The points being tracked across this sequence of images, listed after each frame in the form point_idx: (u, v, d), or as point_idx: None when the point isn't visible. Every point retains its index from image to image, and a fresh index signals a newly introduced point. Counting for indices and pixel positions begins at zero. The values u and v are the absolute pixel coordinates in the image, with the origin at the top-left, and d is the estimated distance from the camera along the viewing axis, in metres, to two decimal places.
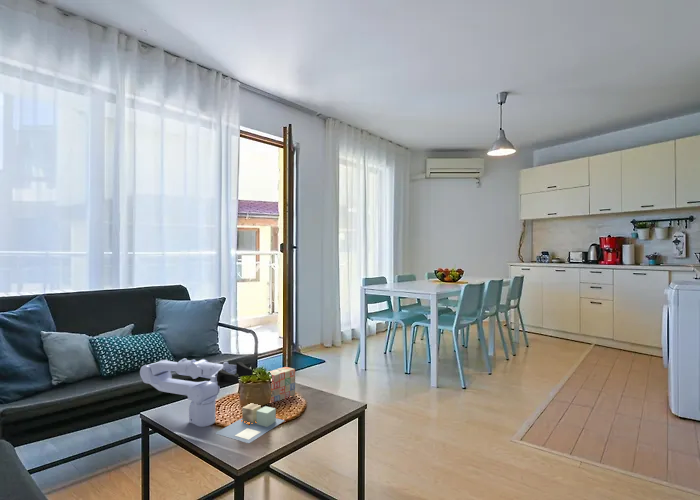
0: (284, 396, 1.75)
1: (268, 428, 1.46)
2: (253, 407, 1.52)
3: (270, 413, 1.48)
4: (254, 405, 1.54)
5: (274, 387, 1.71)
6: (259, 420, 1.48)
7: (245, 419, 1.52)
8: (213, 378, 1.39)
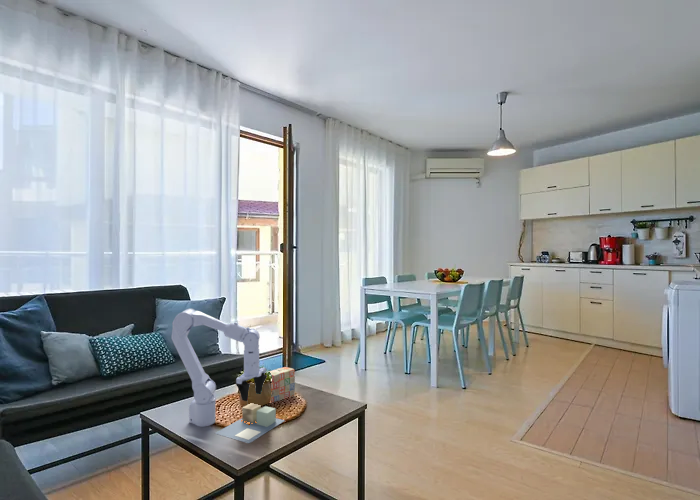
0: (284, 396, 1.75)
1: (268, 428, 1.46)
2: (253, 407, 1.52)
3: (270, 413, 1.48)
4: (254, 405, 1.54)
5: (274, 387, 1.71)
6: (259, 420, 1.48)
7: (245, 419, 1.52)
8: (239, 382, 1.47)
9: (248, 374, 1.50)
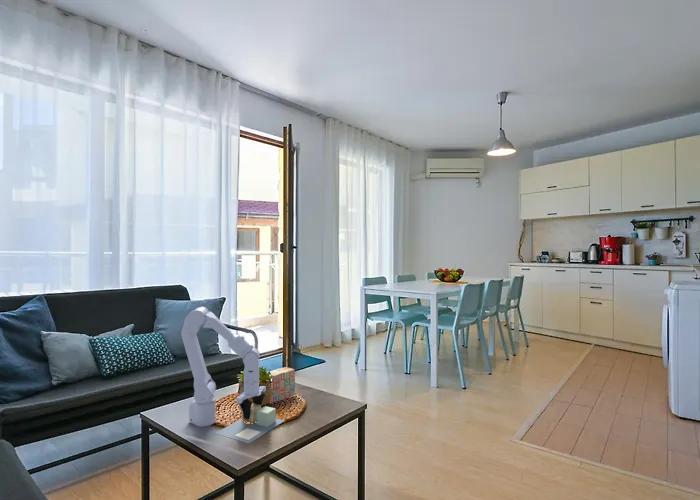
0: (284, 396, 1.75)
1: (268, 428, 1.46)
2: (253, 407, 1.52)
3: (270, 413, 1.48)
4: (254, 405, 1.54)
5: (274, 387, 1.70)
6: (259, 420, 1.48)
7: (245, 419, 1.52)
8: (239, 402, 1.47)
9: (248, 393, 1.50)
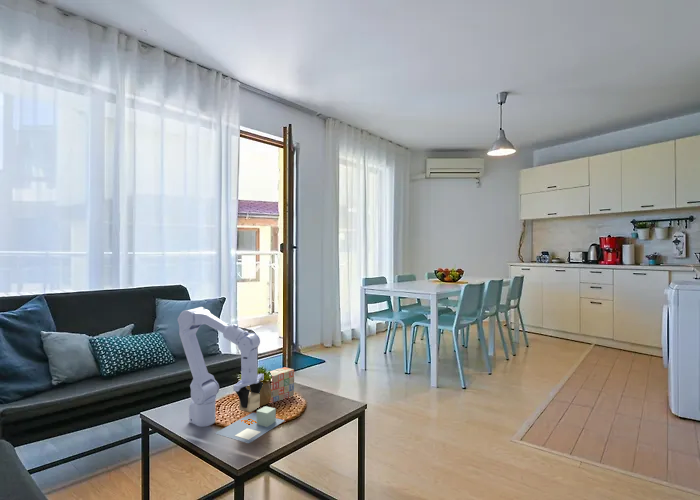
0: (283, 397, 1.75)
1: (268, 428, 1.46)
2: (251, 396, 1.45)
3: (270, 413, 1.48)
4: (252, 393, 1.47)
5: (273, 387, 1.70)
6: (259, 420, 1.48)
7: (243, 408, 1.44)
8: (236, 390, 1.39)
9: (246, 381, 1.43)
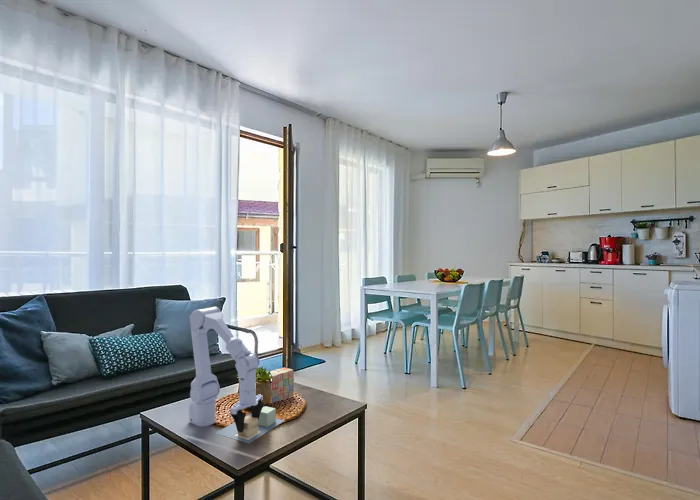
0: (282, 397, 1.74)
1: (268, 428, 1.46)
2: (249, 421, 1.40)
3: (270, 413, 1.48)
4: (250, 418, 1.42)
5: (273, 388, 1.70)
6: (259, 420, 1.48)
7: (240, 434, 1.39)
8: (233, 412, 1.35)
9: (244, 403, 1.38)
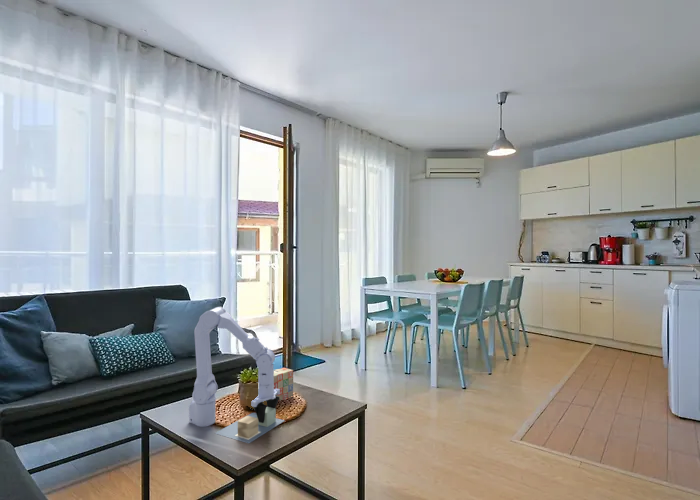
0: (282, 397, 1.74)
1: (268, 428, 1.46)
2: (249, 421, 1.40)
3: (270, 413, 1.48)
4: (250, 418, 1.42)
5: None
6: None
7: (240, 434, 1.39)
8: (253, 405, 1.43)
9: (263, 396, 1.47)
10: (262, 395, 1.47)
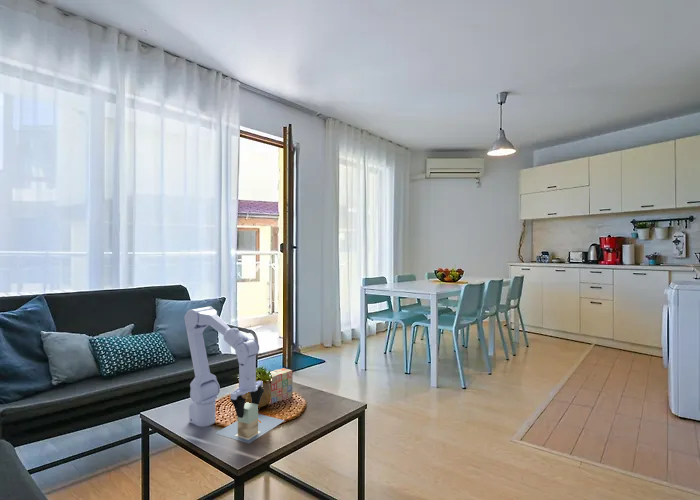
0: (281, 398, 1.73)
1: (268, 428, 1.46)
2: None
3: (252, 409, 1.40)
4: None
5: (272, 388, 1.69)
6: None
7: (240, 434, 1.39)
8: (233, 398, 1.35)
9: (244, 388, 1.38)
10: (243, 387, 1.38)
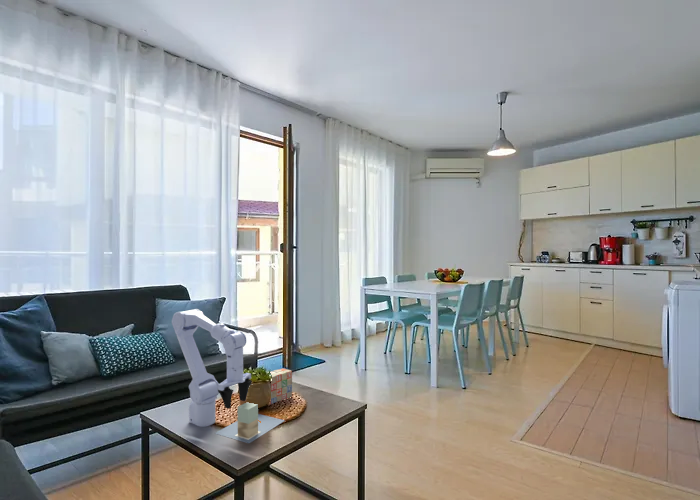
0: (281, 398, 1.73)
1: (268, 428, 1.46)
2: None
3: (252, 409, 1.40)
4: None
5: (271, 389, 1.68)
6: (240, 416, 1.39)
7: (240, 434, 1.39)
8: (221, 389, 1.37)
9: (231, 380, 1.41)
10: (230, 378, 1.41)
